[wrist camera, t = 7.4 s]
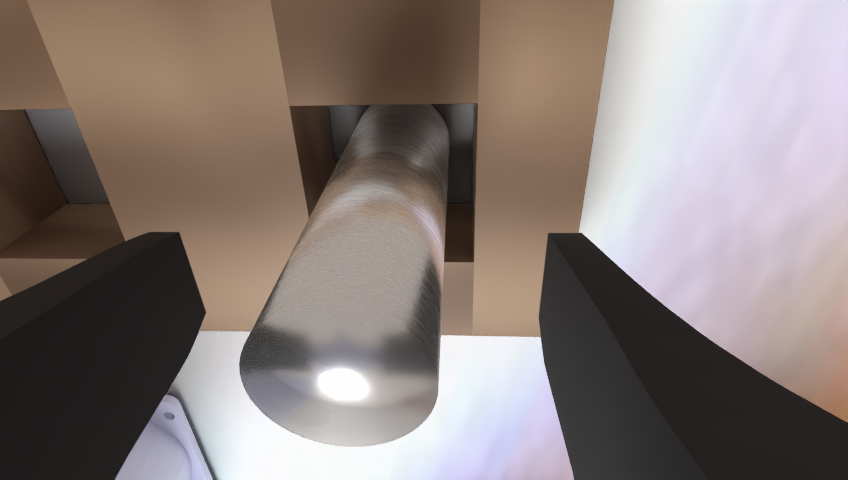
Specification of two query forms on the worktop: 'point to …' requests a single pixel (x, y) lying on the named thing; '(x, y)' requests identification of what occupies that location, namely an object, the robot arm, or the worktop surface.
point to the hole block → (294, 133)
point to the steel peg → (361, 291)
